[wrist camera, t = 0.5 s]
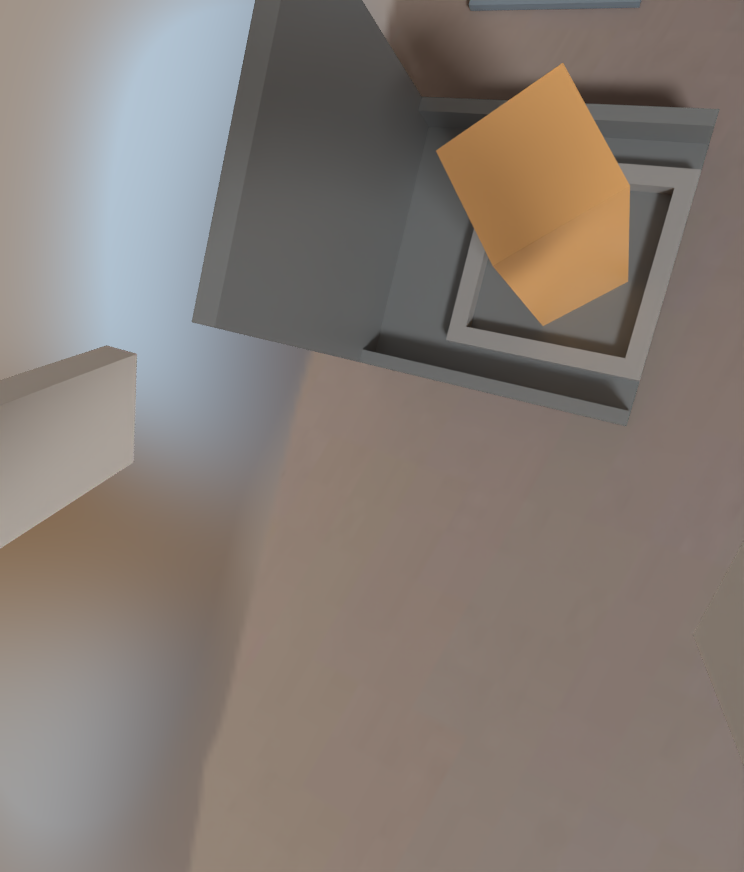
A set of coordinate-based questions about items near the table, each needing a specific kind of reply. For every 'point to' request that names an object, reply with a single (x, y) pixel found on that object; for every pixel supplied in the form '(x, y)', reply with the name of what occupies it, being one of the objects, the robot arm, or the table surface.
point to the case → (417, 223)
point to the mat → (550, 4)
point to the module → (545, 197)
